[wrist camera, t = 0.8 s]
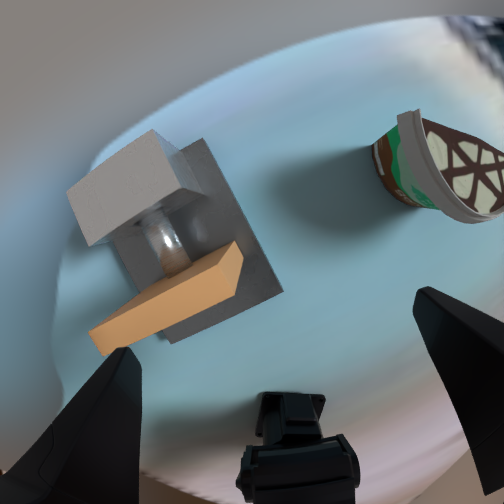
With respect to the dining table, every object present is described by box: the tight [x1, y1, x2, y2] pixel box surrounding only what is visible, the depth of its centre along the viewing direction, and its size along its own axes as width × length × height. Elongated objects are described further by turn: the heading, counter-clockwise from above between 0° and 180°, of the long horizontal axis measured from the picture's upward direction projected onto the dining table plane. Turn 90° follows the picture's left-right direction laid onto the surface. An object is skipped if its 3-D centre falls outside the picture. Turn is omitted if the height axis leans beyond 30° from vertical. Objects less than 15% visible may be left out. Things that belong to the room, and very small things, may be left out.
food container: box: [372, 109, 504, 224], centre depth 18 cm, size 12×6×10 cm, turn 85°
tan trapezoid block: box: [88, 207, 244, 356], centre depth 17 cm, size 6×8×10 cm
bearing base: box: [66, 129, 284, 344], centre depth 20 cm, size 14×11×8 cm
